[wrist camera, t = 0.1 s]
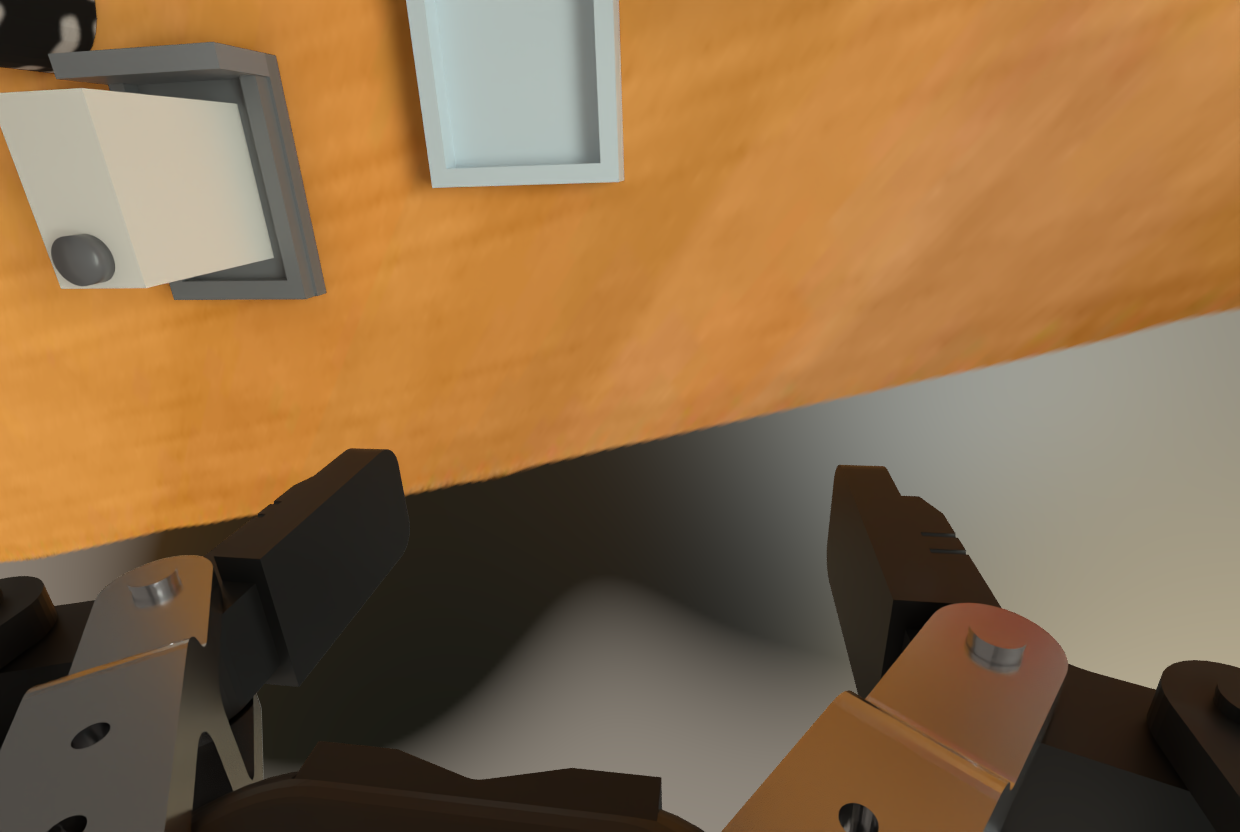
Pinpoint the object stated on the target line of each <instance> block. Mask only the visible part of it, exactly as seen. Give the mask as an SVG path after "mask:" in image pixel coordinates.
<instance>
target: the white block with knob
mask: <svg viewBox="0 0 1240 832" xmlns="http://www.w3.org/2000/svg"><path fill="white" fill-rule="evenodd" d="M0 126H1V129H2V132H3V134H4V137H5V140H6V142H7V145H8V148H9V151H10V153H11V156H12V159H13V161H14V164H15V167H16V169H17V172H18V175H19V177H20V180H21V183H22V185H23V188H24V191H25V193H26V196H27V199H28V201H29V204H30V207H31V209H32V212H33V215H34V217H35V220H36V223H37V225H38V228H39V231H40V233H41V236H42V239H43V241H44V244H45V247H46V249H47V252H48V255H49V257H50V260H51V263H52V265H53V268H54V271H55V273H56V276H57V279H58V281H59V284H60V287H61V289H88V288H149V287H153V286H157V285H161V284H165V283H170V282H174V281H178V280H182V279H187V278H191V277H195V276H199V275H203V274H208V273H212V272H216V271H220V270H225V269H229V268H233V267H237V266H242V265H246V264H250V263H254V262H258V261H263V260H267V259H271V258H274V255H273V251H272V247H271V243H270V239H269V235H268V230H267V226H266V222H265V218H264V214H263V210H262V205H261V201H260V197H259V193H258V189H257V185H256V180H255V176H254V172H253V168H252V164H251V160H250V156H249V151H248V147H247V143H246V139H245V135H244V131H243V126H242V122H241V118H240V114H239V110H238V106H237V104H234V103H225V102H215V101H205V100H195V99H185V98H175V97H165V96H155V95H146V94H136V93H126V92H116V91H106V90H96V89H86V88H74V89H58V90H42V91H25V92H9V93H0Z"/></svg>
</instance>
